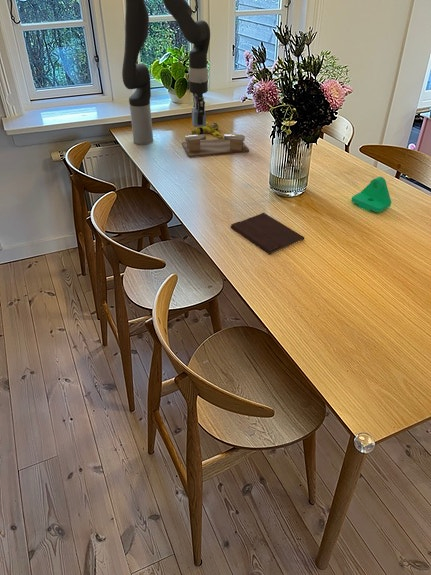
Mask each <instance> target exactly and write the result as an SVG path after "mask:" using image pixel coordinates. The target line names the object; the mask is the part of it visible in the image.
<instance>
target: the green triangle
mask: <svg viewBox="0 0 431 575" xmlns="http://www.w3.org/2000/svg"><path fill="white" fill-rule="evenodd" d="M350 201H351V202H352V203H354V204H356V205H357V208H360V209H362V208H363V209H362V210H364V209H365V211H367V212H370V211H373V212H375V213H382V212H383V211H385V210H386V209H388V208H389V207H391V205H392V199H391V196H390V192H389V188H388V185H387V182H386V179H385V178H384V177H383V176H376V177H375V178H373V179H371V180H370V181H369V183H368V184H367V185H366V186H365V187H364V188H363V189H362V190H361V191H360V192H358V193H356V194H354V195H352V196H351V200H350Z"/></svg>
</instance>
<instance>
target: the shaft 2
mask: <svg viewBox="0 0 431 575" xmlns="http://www.w3.org/2000/svg"><path fill="white" fill-rule="evenodd" d="M231 137H235V138H242V141H243V142H245V139H246V135H244V134H239V135H232V134H229V133H228V134H227V133H225V134H224V135H223V139H224V140H230V138H231Z"/></svg>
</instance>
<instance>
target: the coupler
mask: <svg viewBox="0 0 431 575" xmlns="http://www.w3.org/2000/svg"><path fill="white" fill-rule="evenodd" d="M200 112H202V110H201V111H200ZM206 121H207V111H206V109H205V110H204V115H203V125H198V122H197V110H196V108H194V107H193V108H191V124H192V126H193V127H194V128H200V127H202V126H207V125H206Z"/></svg>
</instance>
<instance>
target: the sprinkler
mask: <svg viewBox="0 0 431 575" xmlns="http://www.w3.org/2000/svg"><path fill="white" fill-rule="evenodd" d="M219 128H220V127H219V124H218V122H216V121H214V123H213V124H209V122H208V121H207V120H206V126H202V127H195V128H193V129H192V130H191V135H194V134H198V135H202V134H205V133H206V132H207V133H208V134H211V135H212V136H213V137H215V138H216V139H224V135H223V134H222V135H221V134H220V131H219Z"/></svg>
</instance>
